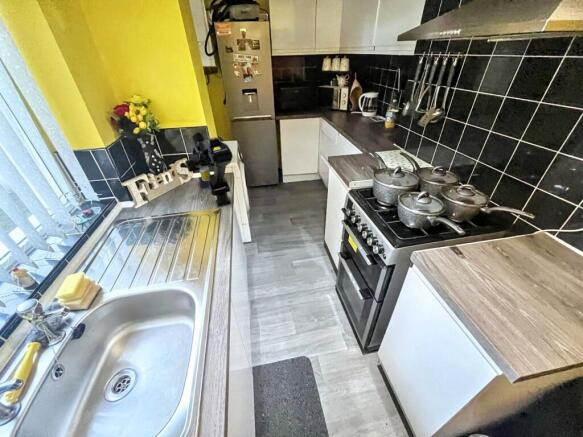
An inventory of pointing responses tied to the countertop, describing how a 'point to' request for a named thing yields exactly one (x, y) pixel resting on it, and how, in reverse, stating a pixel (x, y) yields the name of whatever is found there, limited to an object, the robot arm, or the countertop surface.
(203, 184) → the pad socket
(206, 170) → the supplement bottle
